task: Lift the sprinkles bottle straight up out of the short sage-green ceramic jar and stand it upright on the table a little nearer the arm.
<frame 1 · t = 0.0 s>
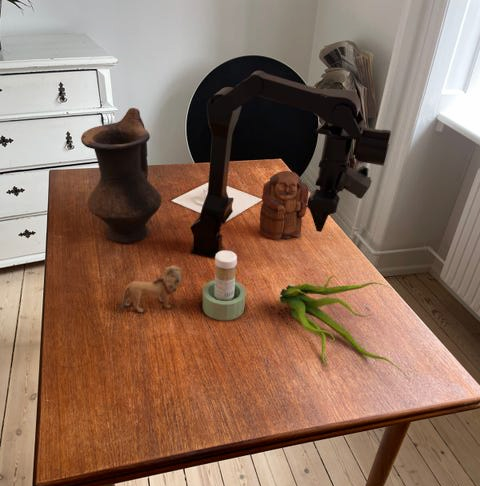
hand: (322, 222, 115), 15 cm above the table, tool pointing down, fingers open, 9 cm apart
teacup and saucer: (217, 200, 152), on the table
decorative plant: (336, 339, 107), on the table
lion figurine: (152, 304, 112), on the table
wooden figurine: (280, 234, 139), on the table
jar: (223, 307, 112), on the table
sprinkles bottle: (223, 306, 112), resting on jar
jug: (130, 232, 135), on the table
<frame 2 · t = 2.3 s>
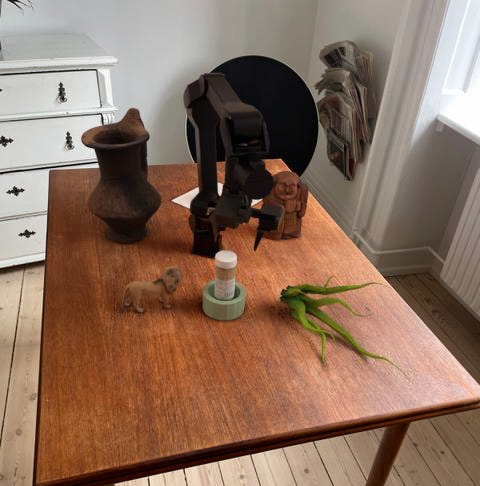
hand: (234, 246, 108), 13 cm above the table, tool pointing down, fingers open, 9 cm apart
nothing on the table moved.
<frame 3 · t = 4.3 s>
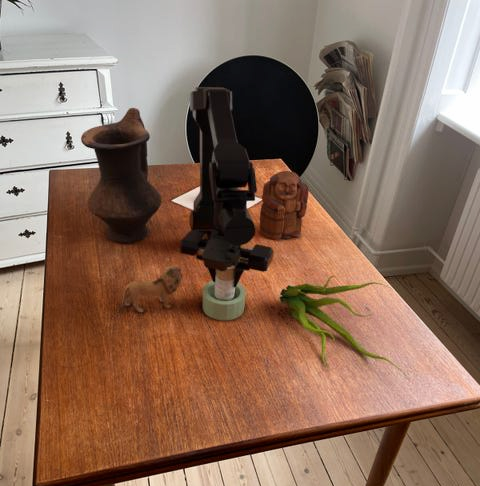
hand: (225, 283, 108), 7 cm above the table, tool pointing down, fingers closed on sprinkles bottle, 4 cm apart
sprinkles bottle: (223, 306, 112), resting on jar, touching gripper
everything else where it was.
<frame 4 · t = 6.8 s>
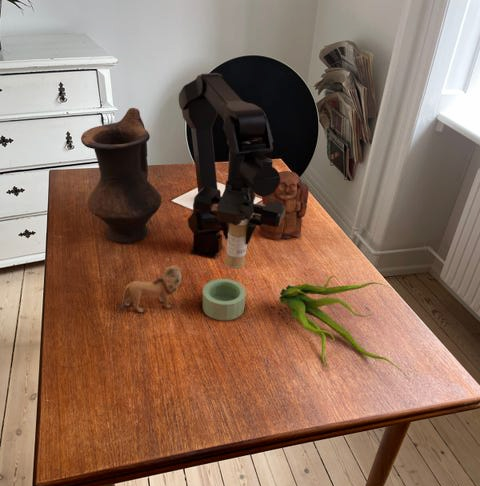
hand: (237, 241, 110), 13 cm above the table, tool pointing down, fingers closed on sprinkles bottle, 4 cm apart
sprinkles bottle: (234, 264, 114), point 6 cm above the table, touching gripper
everything else where it was.
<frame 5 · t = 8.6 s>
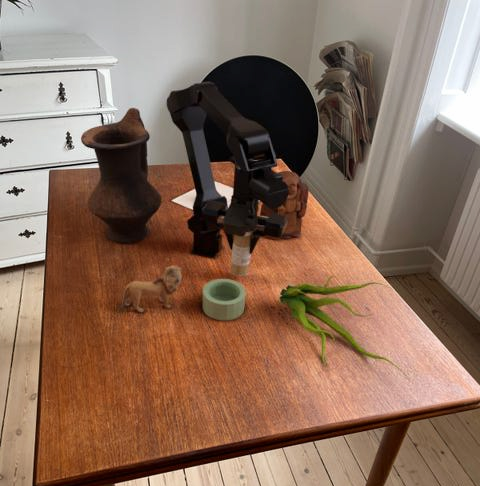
hand: (241, 250, 116), 8 cm above the table, tool pointing down, fingers closed on sprinkles bottle, 4 cm apart
sprinkles bottle: (238, 273, 120), point 1 cm above the table, touching gripper
everything else where it was.
when the fingers open (6 cm above the table, at t = 9.5 s): sprinkles bottle stays where it is, on the table.
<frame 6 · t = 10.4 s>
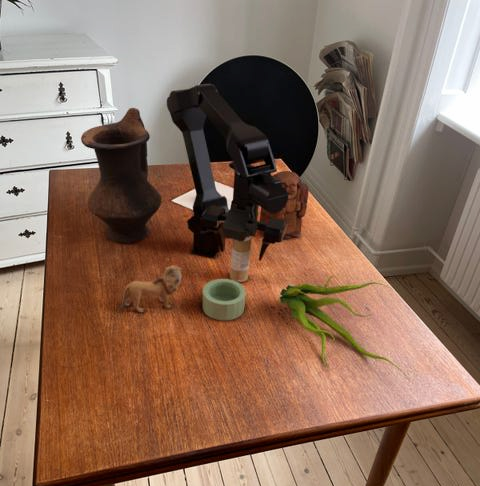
hand: (241, 255, 117), 7 cm above the table, tool pointing down, fingers open, 9 cm apart
sprinkles bottle: (238, 278, 121), on the table
everything else where it was.
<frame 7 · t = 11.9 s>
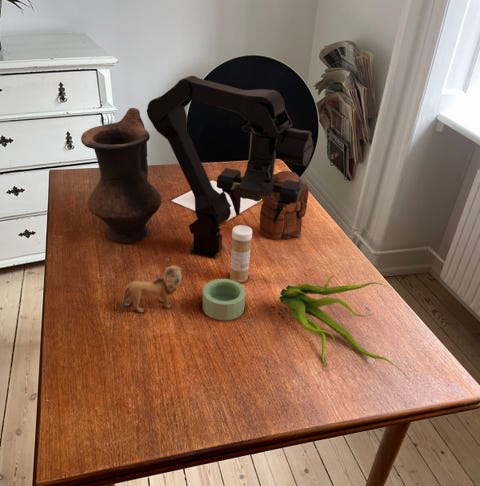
hand: (256, 219, 118), 13 cm above the table, tool pointing down, fingers open, 9 cm apart
nothing on the table moved.
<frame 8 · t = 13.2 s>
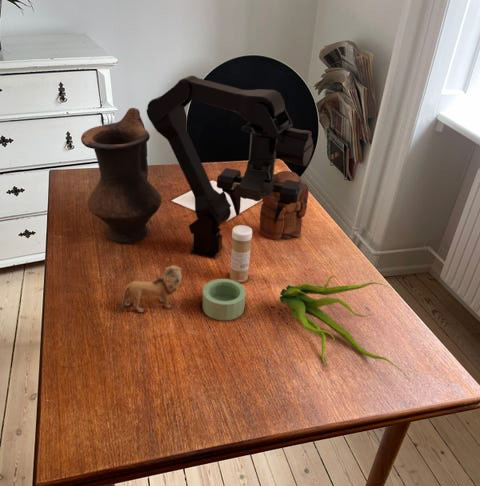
hand: (256, 219, 118), 13 cm above the table, tool pointing down, fingers open, 9 cm apart
nothing on the table moved.
at the end: sprinkles bottle inside the target area (0.4 cm from its centre), on the table; sprinkles bottle tilted 0°; the gripper is holding nothing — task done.
